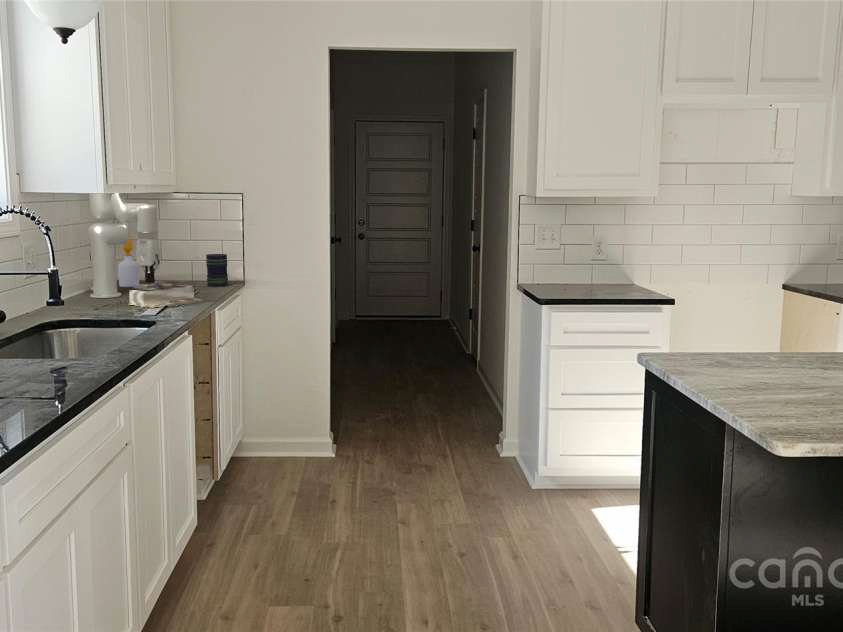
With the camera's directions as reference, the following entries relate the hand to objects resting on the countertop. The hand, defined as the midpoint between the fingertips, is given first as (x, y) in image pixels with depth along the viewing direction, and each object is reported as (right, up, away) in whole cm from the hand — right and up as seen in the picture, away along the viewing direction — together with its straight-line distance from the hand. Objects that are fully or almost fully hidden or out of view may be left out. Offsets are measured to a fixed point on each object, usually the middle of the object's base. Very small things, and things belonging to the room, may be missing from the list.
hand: (150, 282), depth 340 cm
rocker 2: (+7, 0, +15) cm, 16 cm away
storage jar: (+10, +1, +70) cm, 70 cm away
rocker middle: (+2, -1, +9) cm, 9 cm away
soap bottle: (-32, +1, +69) cm, 76 cm away
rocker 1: (-3, -1, +2) cm, 4 cm away
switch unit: (+4, -8, +8) cm, 12 cm away
